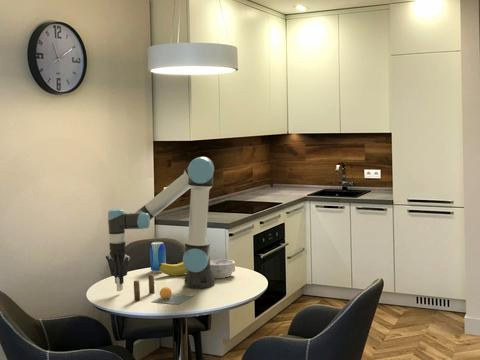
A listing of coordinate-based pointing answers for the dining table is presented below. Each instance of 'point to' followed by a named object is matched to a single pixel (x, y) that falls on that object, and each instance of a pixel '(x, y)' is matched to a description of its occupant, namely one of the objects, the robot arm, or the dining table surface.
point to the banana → (173, 269)
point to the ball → (165, 293)
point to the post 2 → (151, 283)
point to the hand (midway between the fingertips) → (119, 290)
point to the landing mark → (173, 299)
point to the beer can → (157, 256)
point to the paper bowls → (222, 268)
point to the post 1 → (136, 291)
